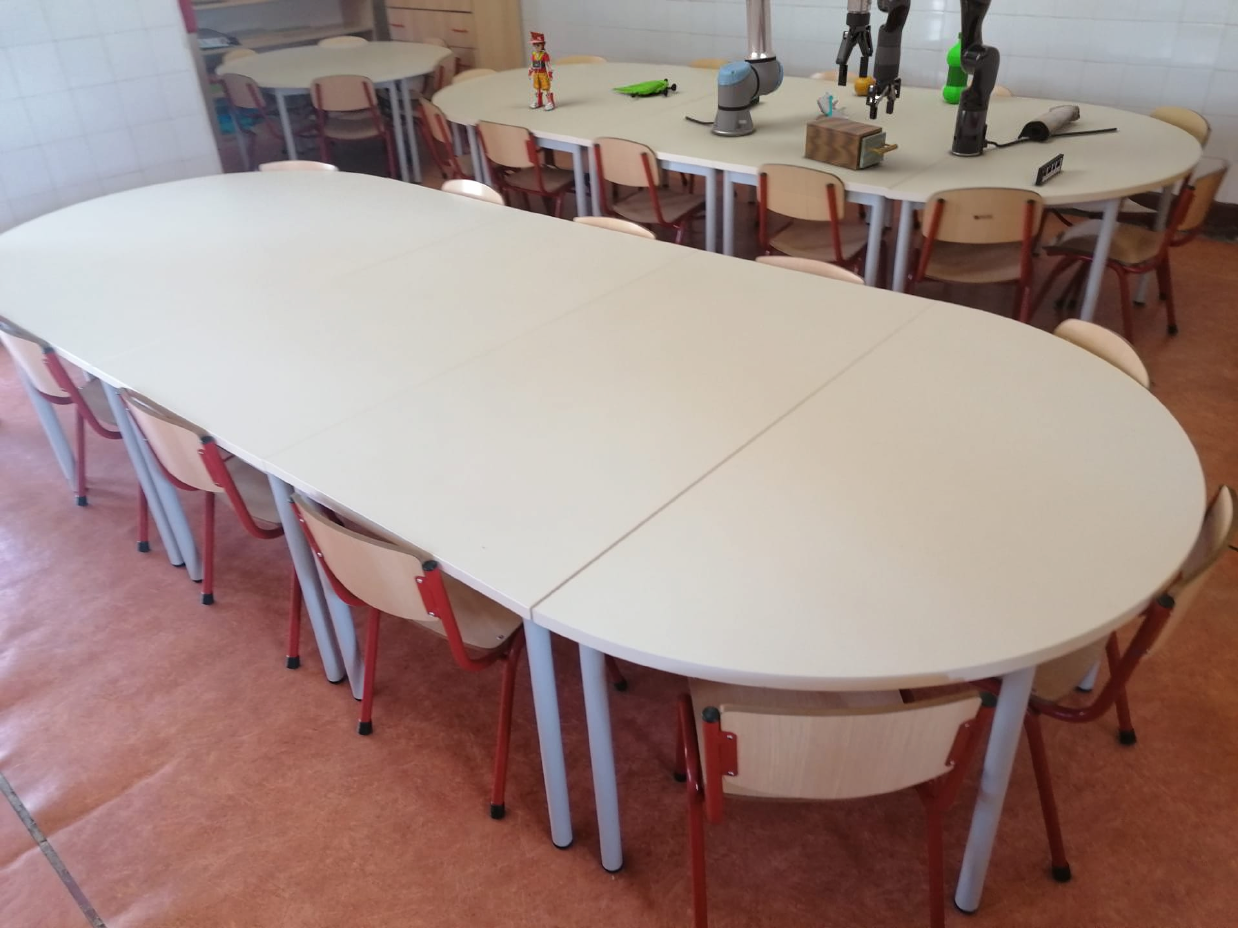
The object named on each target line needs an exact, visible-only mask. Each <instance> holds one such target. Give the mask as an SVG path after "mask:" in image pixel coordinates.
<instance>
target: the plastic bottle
mask: <svg viewBox="0 0 1238 928" xmlns="http://www.w3.org/2000/svg"><path fill="white" fill-rule="evenodd" d="M957 39H958V42H957V43H956V44H954V45H953V46H952V47H951V48H950V49H949V50H948V52H947V54H946V63H947V64H948V69H947V70H948V71H947V76H946V77H947V78H946V84H945V85H944V87H943V90H942V97H943V99H944V100H945V101H946V102H947V103H948V104H959V100H960V93H961V90H962V89H963V88H965V87H969V85H968V79H969V74H966V73H965V72H963V70H962V68H961V65H960V48H961V31H959V32H958V36H957Z"/></svg>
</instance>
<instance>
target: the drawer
mask: <svg viewBox="0 0 1238 928" xmlns="http://www.w3.org/2000/svg"><path fill="white" fill-rule="evenodd" d="M886 140H887V131H882V132H881V133H877V132H876V133H873V134H870V135H867V136H863V137H861V141H860V151H859V161H858V164H860V167H861V168H860V169H865V168H867V167H869V166H872V165H875V164H877V163H881V162H883V161H884V156H885V154H886V153H889V152H893V151H895V150H897V149H898V148H899V145H898V143H893V144H892V143H891V144H890V143H886Z"/></svg>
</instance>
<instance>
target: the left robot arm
mask: <svg viewBox="0 0 1238 928" xmlns="http://www.w3.org/2000/svg"><path fill="white" fill-rule="evenodd" d="M872 4H873V0H847V5H846V11H847V13H846V19H845V25H846V26H847V27H848V30H844V31H843V32H842V38H841V42H840V45H839V48H838V52H837V55H836V59H835V64H836V65H839V66H838V79H837V86H838V87H847V82H848V69H849V64H848V62H849V60H850V57H851V55H852V52H853V50H854V48H855V47H856V46H857V45H858V47H859V49H860V53H861V55H862V56H860V59H859V60H860V61H859V71H858V78H867V76H868V73H869V61H870V58H872V57H873V53H874V45H873V38H872V25H871V14H872V13H871V12H870V11H871V10H872ZM745 6H746V7H745V8H746V29H747V30H746V31H747V50H748V53H747V54H746V55H745V57H744V60H742V61H741V60H740V61H739V60H738V61H732V62H728V63H726V64H723V65H722V66H720V68H718V73H717V74H718V75H717V111H716V114H715V118H714V120H713V121H702V120H698V119H694V118H693V117H689V116H687V115H686V116H685V117H684V118H685V119H686V120H687V121H691V122H693V123H696V124H699V125H704V126H705V125H706V126H709V125H712V133H713V134H715V135H717V136H721V137H741V136H746V135H750V134H752V133H754V122H753V118H752V115H751V111H750V107H749V99H750V98H754V97H757V96H760V97H762V96H768V95H770V94H773V93H775V92H776V91H778V90H779V88H780V87H781V85H782V84H783V79H784V67H783V65H781V64H782V63H781V61H780V60H779V59H777V53H775V52H774V50H773V44H772V43H773V42H772V41H773V40H772V39H773V38H772V11H771V0H745Z"/></svg>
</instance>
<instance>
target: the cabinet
mask: <svg viewBox="0 0 1238 928" xmlns="http://www.w3.org/2000/svg"><path fill="white" fill-rule="evenodd" d="M876 132H877V133H881V132H883V127H882V126H878V125H873V124H869V123H864V122H860V121H854V120H850V119H849V120H845V119H841V118H836V117H831V116H829V117H828V116H826V117H823V118H819V119H816V120H813V121H809V122H807V123H806V132H805V147H804V158H806V159H811V160H815V161H818V162H822V163H826V164H830V165H834V166H838V167H842V168H845V169H849V170H853V171H857V170H860V169H862V168H861V167H860V164H858V161H859V151H860V141H861V137H863V136H867V135H870V134H873V133H876Z"/></svg>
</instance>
